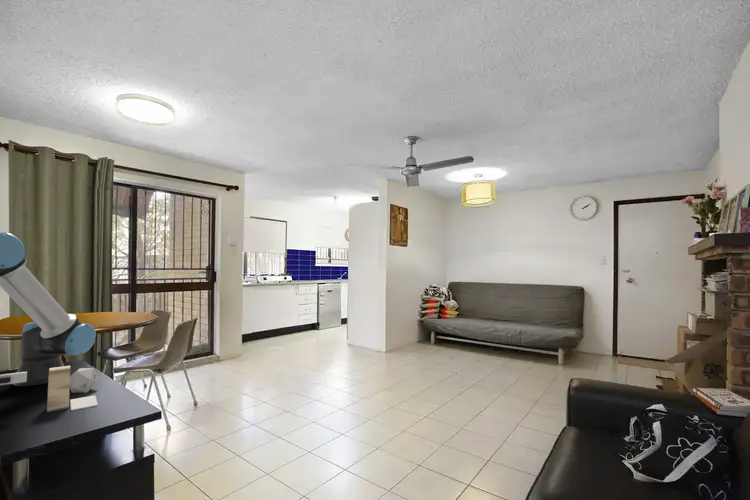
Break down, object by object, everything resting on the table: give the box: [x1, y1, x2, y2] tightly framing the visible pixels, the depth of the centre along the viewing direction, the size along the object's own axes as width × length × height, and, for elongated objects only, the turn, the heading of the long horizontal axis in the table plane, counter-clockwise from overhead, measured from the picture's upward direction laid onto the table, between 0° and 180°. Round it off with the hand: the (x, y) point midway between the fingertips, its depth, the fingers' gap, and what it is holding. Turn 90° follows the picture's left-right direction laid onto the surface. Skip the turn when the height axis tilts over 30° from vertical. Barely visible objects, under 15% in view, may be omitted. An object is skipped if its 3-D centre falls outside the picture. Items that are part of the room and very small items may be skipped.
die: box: [69, 367, 100, 394], centre depth 131 cm, size 8×9×10 cm
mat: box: [69, 394, 99, 412], centre depth 119 cm, size 12×6×1 cm, turn 40°
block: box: [46, 365, 71, 413], centre depth 115 cm, size 5×5×12 cm
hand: (26, 376), depth 110 cm, fingers closed
